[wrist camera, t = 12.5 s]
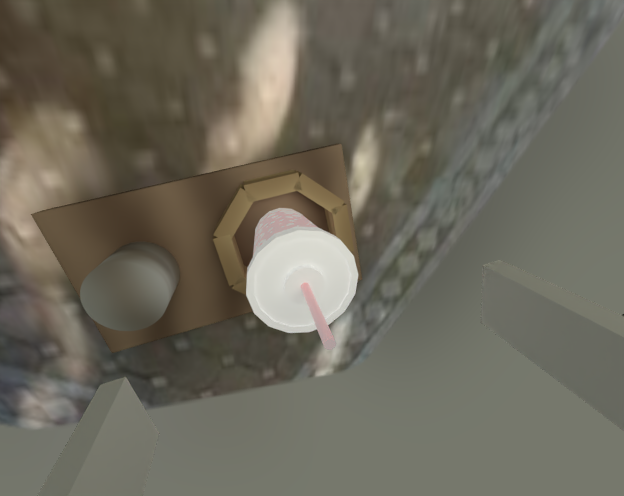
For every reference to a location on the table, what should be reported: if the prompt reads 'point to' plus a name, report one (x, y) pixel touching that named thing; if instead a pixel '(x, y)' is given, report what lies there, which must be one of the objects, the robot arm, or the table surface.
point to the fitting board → (188, 242)
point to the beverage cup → (299, 275)
